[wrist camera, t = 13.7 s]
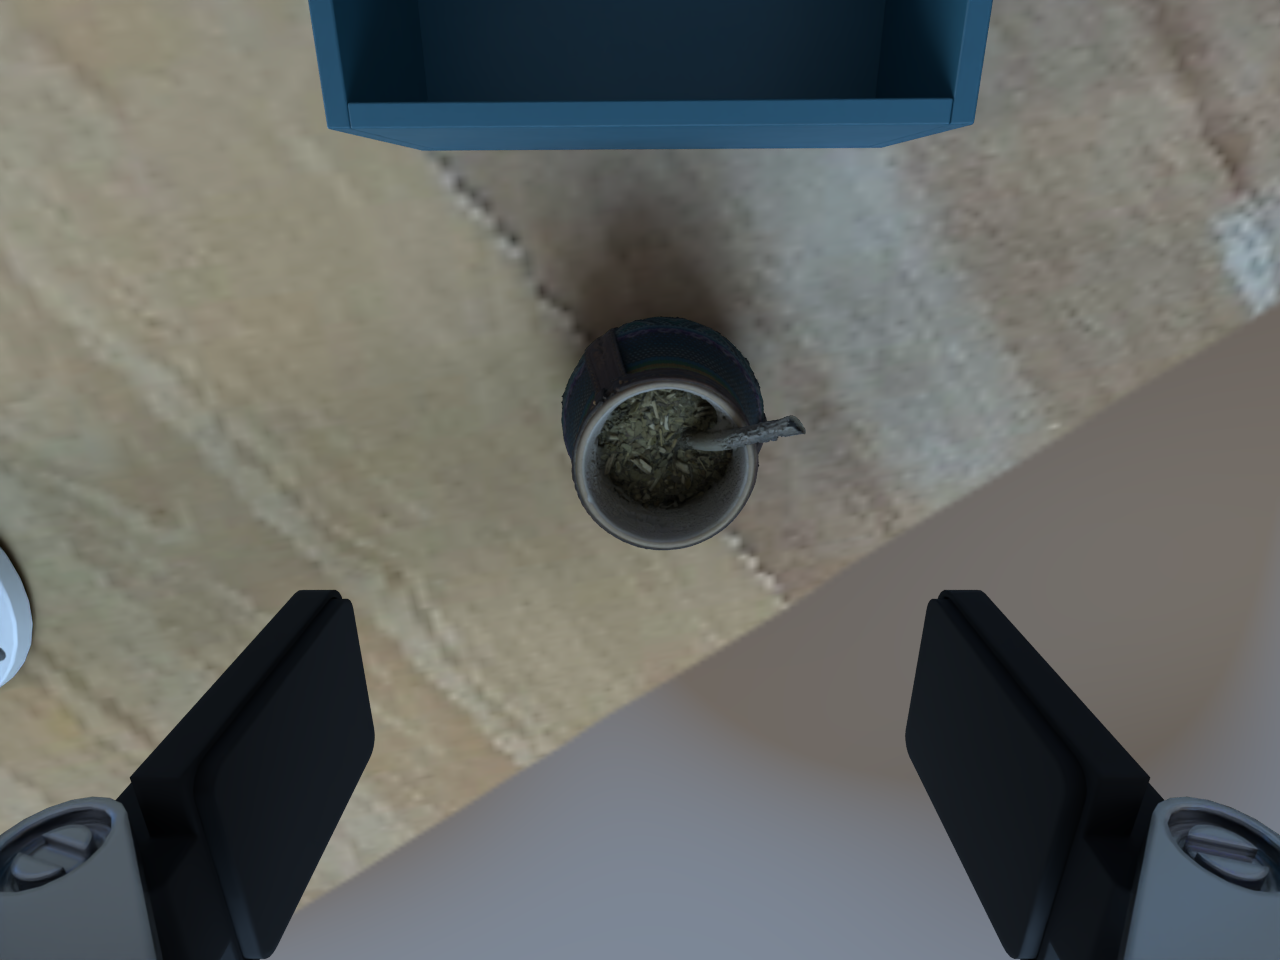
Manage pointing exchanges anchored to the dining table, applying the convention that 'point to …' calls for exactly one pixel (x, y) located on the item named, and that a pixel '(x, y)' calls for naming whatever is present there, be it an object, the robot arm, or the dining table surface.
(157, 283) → the dining table surface
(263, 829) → the robot arm
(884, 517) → the dining table surface
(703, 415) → the mate gourd
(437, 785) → the dining table surface
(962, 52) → the blue open rectangular box
